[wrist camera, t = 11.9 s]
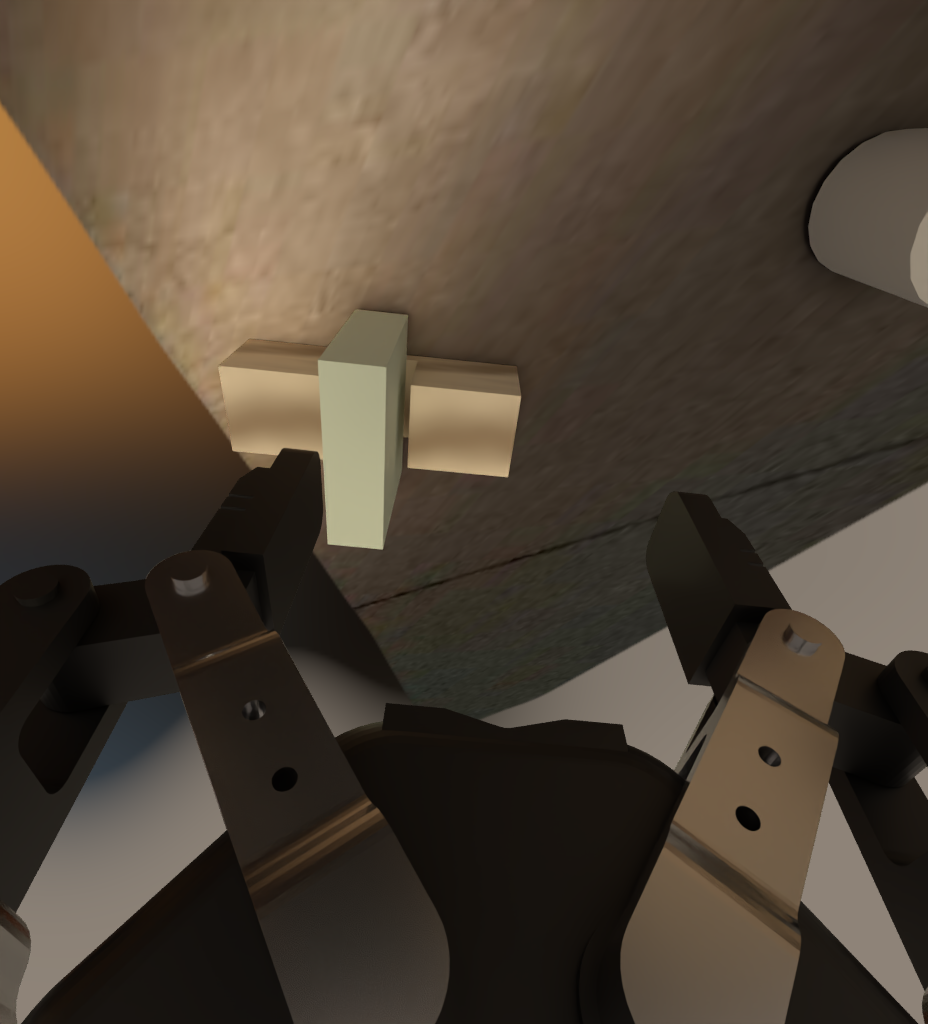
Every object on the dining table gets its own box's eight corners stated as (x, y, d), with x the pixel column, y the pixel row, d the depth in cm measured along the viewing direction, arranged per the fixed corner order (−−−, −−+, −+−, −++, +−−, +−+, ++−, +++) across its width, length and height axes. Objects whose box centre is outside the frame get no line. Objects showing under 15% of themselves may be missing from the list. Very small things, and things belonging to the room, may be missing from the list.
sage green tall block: (355, 309, 36) (317, 360, 28) (408, 315, 36) (386, 367, 28) (357, 465, 43) (327, 544, 34) (401, 470, 43) (382, 549, 34)
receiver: (249, 338, 38) (218, 365, 34) (516, 366, 39) (521, 396, 34) (259, 416, 41) (232, 450, 37) (505, 440, 42) (507, 477, 38)
